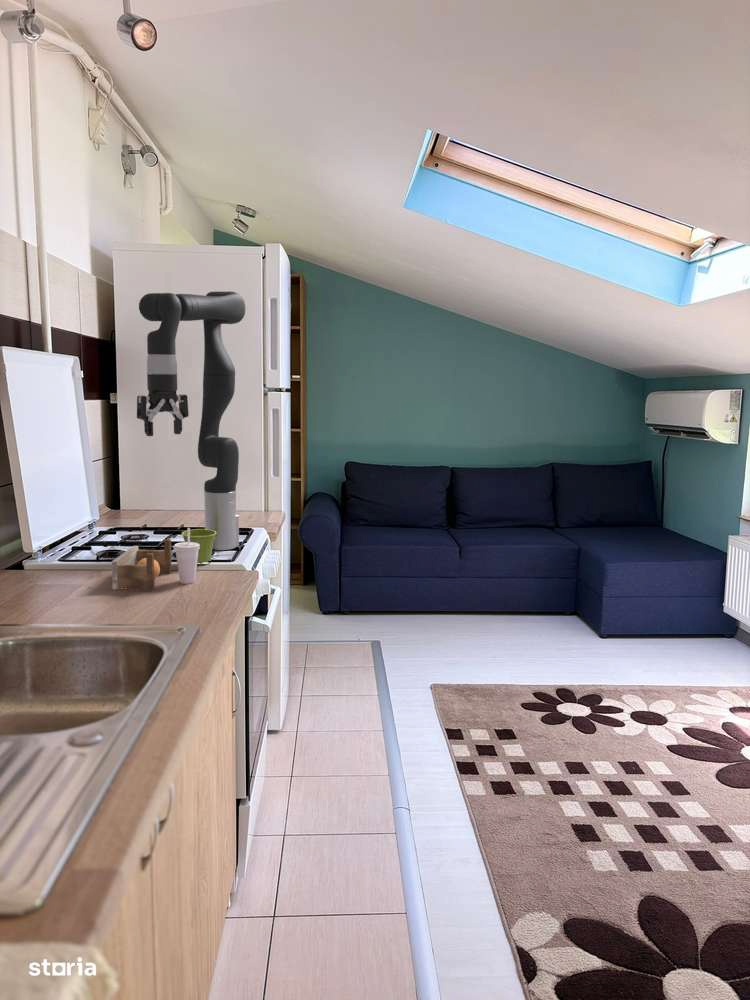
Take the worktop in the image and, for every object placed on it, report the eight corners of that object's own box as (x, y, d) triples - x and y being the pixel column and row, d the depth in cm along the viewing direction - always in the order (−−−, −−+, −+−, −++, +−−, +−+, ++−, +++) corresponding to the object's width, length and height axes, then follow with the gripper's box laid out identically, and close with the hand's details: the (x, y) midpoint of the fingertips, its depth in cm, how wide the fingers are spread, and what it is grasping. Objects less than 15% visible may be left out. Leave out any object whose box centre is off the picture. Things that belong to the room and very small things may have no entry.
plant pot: (223, 561, 228) (223, 531, 226) (203, 568, 219) (202, 537, 218) (196, 557, 232) (195, 527, 230) (175, 564, 223) (174, 533, 222)
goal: (171, 572, 215) (170, 539, 213) (153, 590, 198) (152, 554, 197) (134, 571, 215) (133, 538, 214) (112, 589, 198) (111, 553, 197)
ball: (163, 561, 210) (142, 569, 210) (151, 550, 205) (130, 558, 205) (164, 580, 206) (143, 588, 207) (153, 569, 201) (131, 577, 202)
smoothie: (194, 585, 203) (193, 531, 200) (170, 584, 204) (168, 529, 202) (204, 579, 209) (203, 526, 207) (181, 577, 210) (180, 524, 208)
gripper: (176, 372, 217) (177, 432, 220) (129, 372, 207) (131, 435, 210) (193, 372, 213) (194, 434, 215) (146, 372, 202) (148, 437, 205)
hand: (163, 435), depth 213 cm, fingers open, 8 cm apart
